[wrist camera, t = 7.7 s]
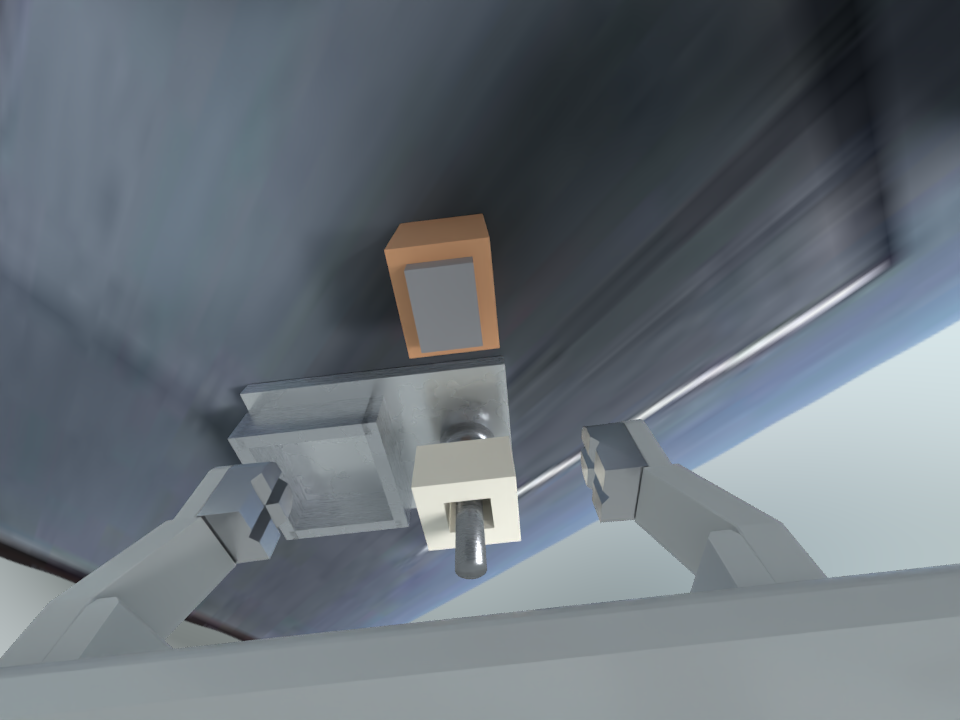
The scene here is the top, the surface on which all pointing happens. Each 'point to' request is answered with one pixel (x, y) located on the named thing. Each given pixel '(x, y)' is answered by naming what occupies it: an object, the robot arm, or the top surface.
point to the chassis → (372, 444)
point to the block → (444, 285)
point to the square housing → (466, 489)
